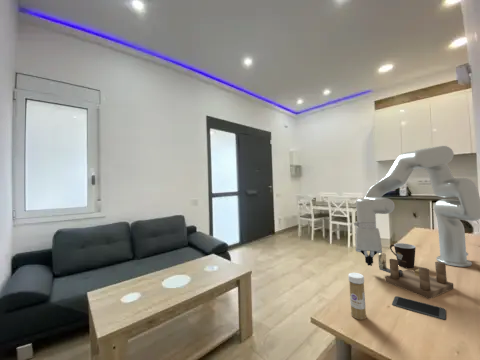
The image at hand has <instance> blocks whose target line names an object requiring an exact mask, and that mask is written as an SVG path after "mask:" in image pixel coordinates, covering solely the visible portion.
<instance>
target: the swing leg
mask: <svg viewBox="0 0 480 360" xmlns="http://www.w3.org/2000/svg"><path fill="white" fill-rule="evenodd" d="M377 259H378V260H377V261H378V268H379V270H380V271H383V272H384V273H385V272H386V273H388V274H390V268H388V267H387V255H386V253H384V252H382V253H377ZM402 271H403V270H400V269H399V276H400V277H401V276H404V274H403V272H402Z"/></svg>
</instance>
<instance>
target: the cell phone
mask: <svg viewBox="0 0 480 360" xmlns="http://www.w3.org/2000/svg"><path fill="white" fill-rule="evenodd" d="M391 305H392V306H393V307H396V308H399V309H403V310H406V311H411V312H413V313H416V314H421V315H425V316H427V317H431V318H435V319H438V320H442V321H445V320H447V310H446V308H444V307H441V306H437V305H434V304H433V305H432V304H430V303H425V302H422V301H417V300H413V299H410V298H406V297H403V296H394V298H393V300H392V304H391Z"/></svg>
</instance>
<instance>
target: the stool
mask: <svg viewBox="0 0 480 360" xmlns="http://www.w3.org/2000/svg"><path fill="white" fill-rule="evenodd" d="M434 263H435V266H434V267H435V276H436V277H435V276H431V275H430V269H429V268H427V267H418V268H417V269H415V270H413V269H410V268H406V269H405V270H402V272H403V274H404V276H401V277H400V276H399V270H400V269H399V268H400V266H398V260H397V258H390V259H389V269H390V273H389V275H388V276H384V281H385V283H388V284H390V285H393V286H395V287H398V288H400V289H403V290H406V291H409V292H410V293H413V294H416V295H419V296H420V297H424V298H426V299H429V300H431V299H433V298H437V296H440V295H442V294H444V293H446V292H449V291H451V290H453V289H454V282H450V281H448V280H447V278H448V277H447V269H446V265H447V264H445V263H443V262H439V261H435V262H434Z"/></svg>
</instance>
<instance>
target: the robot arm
mask: <svg viewBox="0 0 480 360" xmlns="http://www.w3.org/2000/svg"><path fill="white" fill-rule="evenodd" d="M454 155H455V153H454V151H453V149H452V148H451V147H449V146H448V145H439V146H434V147H433V146H432V147H426V148H419V149H417V150H414V151H406V152H403V153H401V154H399V155H398V156H397V157H396V158H395V160H394V162H393V163H392V165H391V167H390V168H389V169H388V171H387V173H386V175H385V176H384V177H383V178H381V179H380V180H379V181H378V182H376V183H375V184H373V185H372V186H371V187H370V188H369V189H368V191H367V192H366V194H365V196H364V197H363V198H358V199H356V202H355V208H356V218H357V219H356V220H357V221H356V222H353V225H354V226H356V228H355V252H357V253H361V254H363V256H364V259H365V264H367V266H370V267H371V266H373V264H374V257H375V256H376V255H378V253H383V251H382V247H383V246H382V238H381V234H380V233H381V232H380V229H379V228H378V227H377V220H376V219H377V217H376V215H377V214H380V215H387V214H390V213H393V211H394V210H395V206H396V205H395V202H394V201H393V200H392V199H391V198H388V197H383V196H384V195H385V194H387V193H389V192H392V191H394V190H397V189H399V188H401V187H403V186H405V184H406V183H407V181H408V179H410V176H411V174H412V173H413V172H414V170H421V169H424V170H425V171H426V173H427V174H428V175H427V176H428V178H429V181H430V184H431V189H432V191H433V193H434V195H435V196H436V197H439V198H443V199H438V200H437V201H436V202H435V203H434V205H433V210H434V213H435V217H436V220H437V226H438V227H437V229H438V241H439V242H438V244H439V255H438V256H436V262H443V263H445V265H448V266H452V267H461V268H462V267H463V268H465V267H471V266H472V264H473V262H472V261H471V260H468V258H467V256H469V253H468V251H467V246H466V244H467V243H466V233H465V226H464V224H463V222H462V221H469V222H475V221H479V220H480V193H479V190H478V187H477V184H476V183H475V182H474V181H473V180H472V179H469V178H465V177H454V175H453V174H452V170H451V168H450V166H449V163H450V162H452V160H453V159H454ZM461 220H462V221H461ZM368 252H369V254H368Z"/></svg>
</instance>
